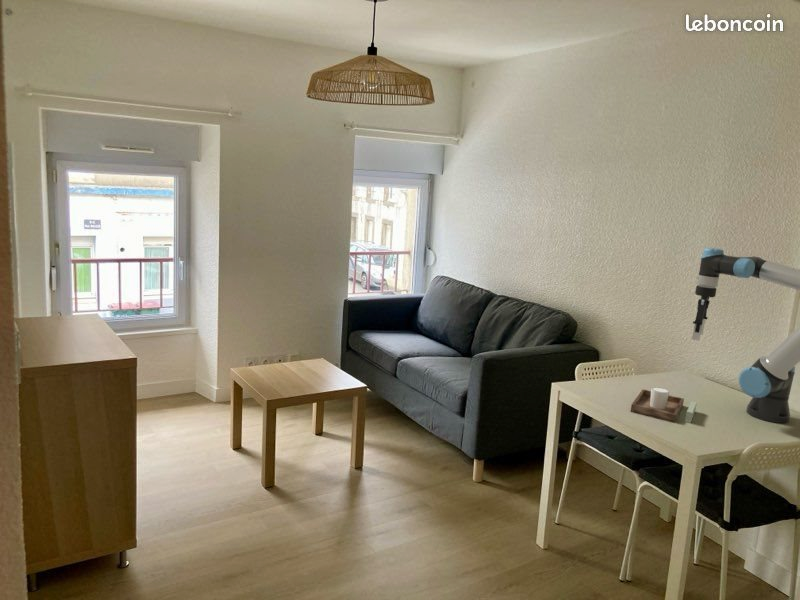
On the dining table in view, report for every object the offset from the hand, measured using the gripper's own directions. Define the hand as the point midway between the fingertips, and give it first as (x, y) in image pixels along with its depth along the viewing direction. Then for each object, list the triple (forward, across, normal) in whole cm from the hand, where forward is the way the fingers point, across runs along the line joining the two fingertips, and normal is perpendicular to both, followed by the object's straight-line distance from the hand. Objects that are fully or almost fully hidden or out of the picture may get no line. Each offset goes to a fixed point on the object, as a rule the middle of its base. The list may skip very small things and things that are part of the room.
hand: (697, 337), depth 264 cm
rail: (+27, +23, +4) cm, 35 cm away
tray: (+27, +23, -8) cm, 36 cm away
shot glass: (+26, +23, -8) cm, 36 cm away
